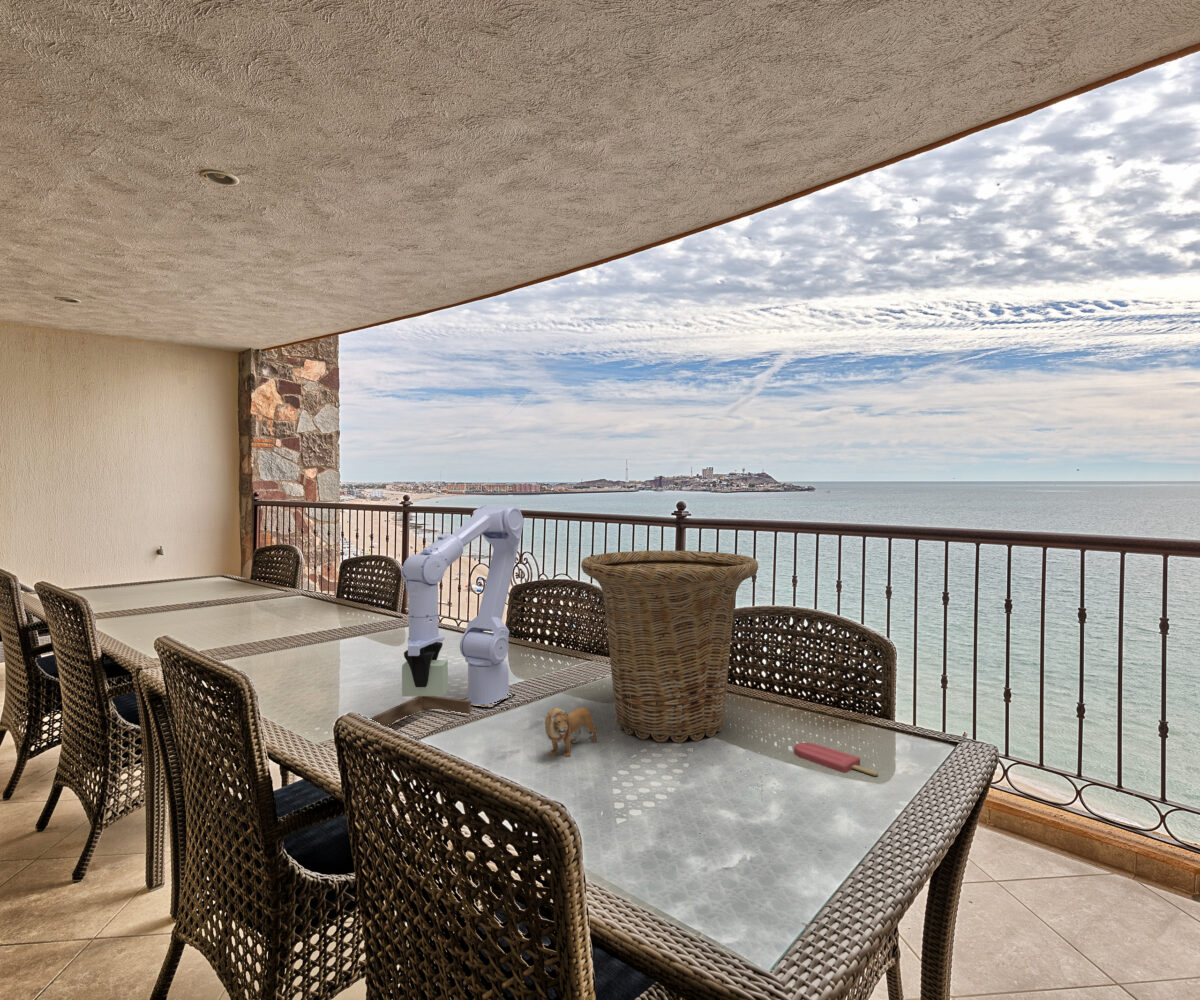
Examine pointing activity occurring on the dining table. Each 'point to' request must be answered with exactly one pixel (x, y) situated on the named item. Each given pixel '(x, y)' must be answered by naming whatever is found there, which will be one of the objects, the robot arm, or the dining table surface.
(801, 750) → the popsicle
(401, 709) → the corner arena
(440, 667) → the sage block
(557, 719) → the lion figurine
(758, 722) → the dining table surface
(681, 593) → the wicker basket
